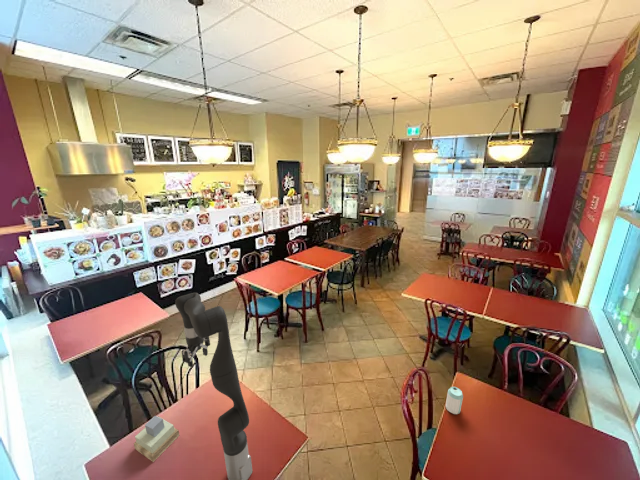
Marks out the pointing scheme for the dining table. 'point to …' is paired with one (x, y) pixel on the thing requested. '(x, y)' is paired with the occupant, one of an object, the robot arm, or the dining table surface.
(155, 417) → the slate cube
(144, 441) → the top block
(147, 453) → the base block
